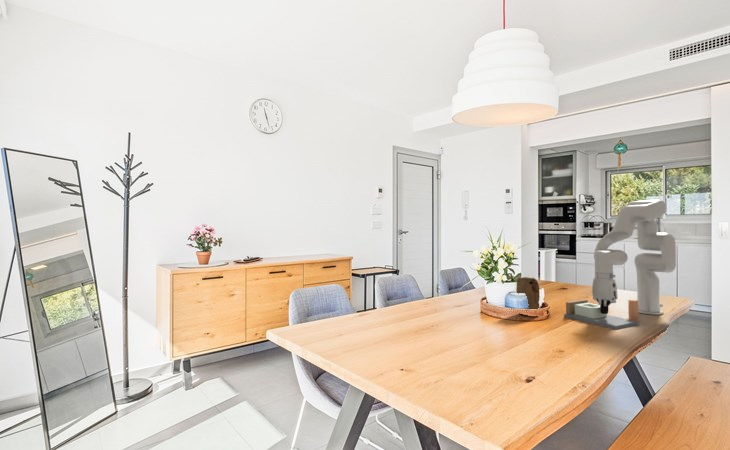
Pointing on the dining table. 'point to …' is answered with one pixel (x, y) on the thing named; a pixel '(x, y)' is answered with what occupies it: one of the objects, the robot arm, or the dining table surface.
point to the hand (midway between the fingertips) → (604, 313)
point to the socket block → (589, 310)
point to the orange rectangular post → (633, 310)
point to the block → (529, 290)
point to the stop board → (603, 321)
